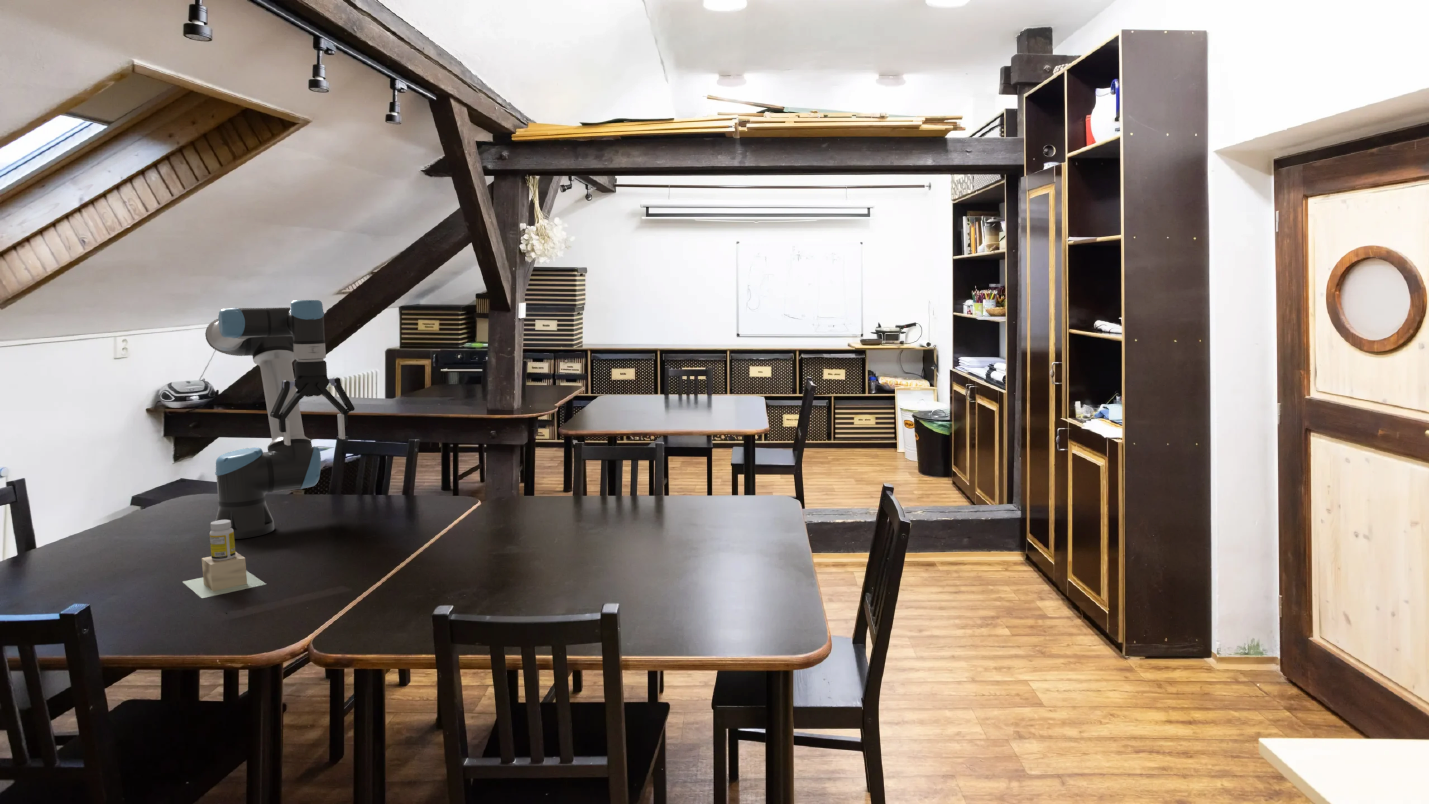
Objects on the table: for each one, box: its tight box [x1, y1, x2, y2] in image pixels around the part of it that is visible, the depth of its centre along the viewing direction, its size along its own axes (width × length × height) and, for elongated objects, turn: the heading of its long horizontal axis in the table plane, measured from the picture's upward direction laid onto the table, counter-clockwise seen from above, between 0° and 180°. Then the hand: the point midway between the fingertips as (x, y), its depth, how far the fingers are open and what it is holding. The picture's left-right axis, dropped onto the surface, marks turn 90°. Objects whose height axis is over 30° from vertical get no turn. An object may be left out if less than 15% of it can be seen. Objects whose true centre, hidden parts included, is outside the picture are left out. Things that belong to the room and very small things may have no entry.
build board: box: [182, 570, 267, 599], centre depth 198 cm, size 16×13×1 cm
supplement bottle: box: [209, 520, 236, 561], centre depth 196 cm, size 5×5×8 cm
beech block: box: [201, 551, 247, 591], centre depth 196 cm, size 7×7×6 cm
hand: (315, 441), depth 226 cm, fingers open, 13 cm apart
